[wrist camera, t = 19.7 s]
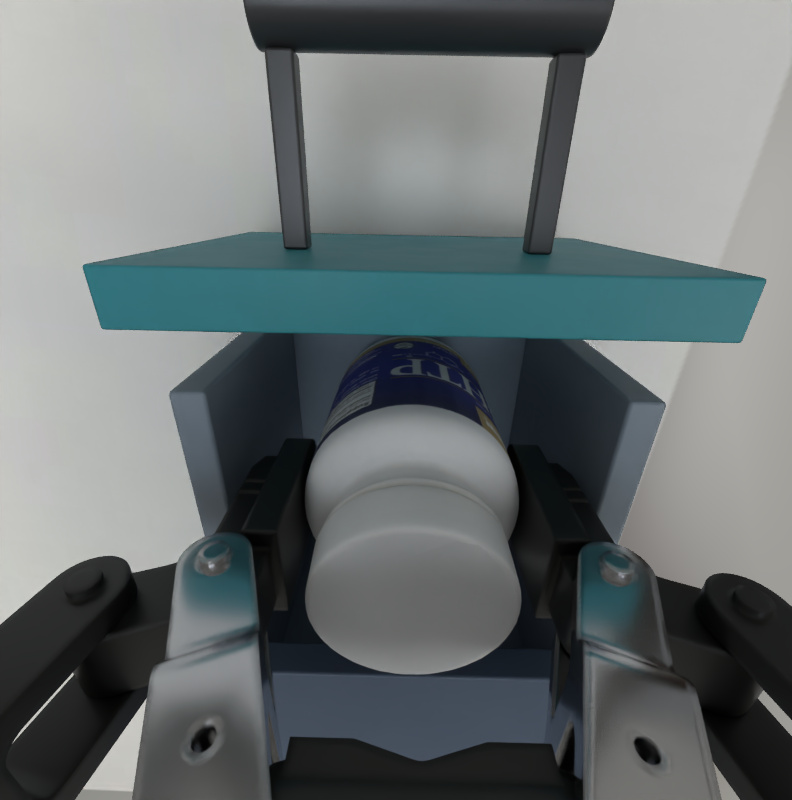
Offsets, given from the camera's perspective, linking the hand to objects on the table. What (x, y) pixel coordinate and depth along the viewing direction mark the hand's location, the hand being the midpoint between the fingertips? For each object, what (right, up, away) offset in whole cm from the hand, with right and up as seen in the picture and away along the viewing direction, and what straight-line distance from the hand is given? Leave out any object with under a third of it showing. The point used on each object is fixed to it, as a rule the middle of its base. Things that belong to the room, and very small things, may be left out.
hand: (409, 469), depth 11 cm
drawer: (0, +4, +6) cm, 7 cm away
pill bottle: (0, +2, +4) cm, 5 cm away
